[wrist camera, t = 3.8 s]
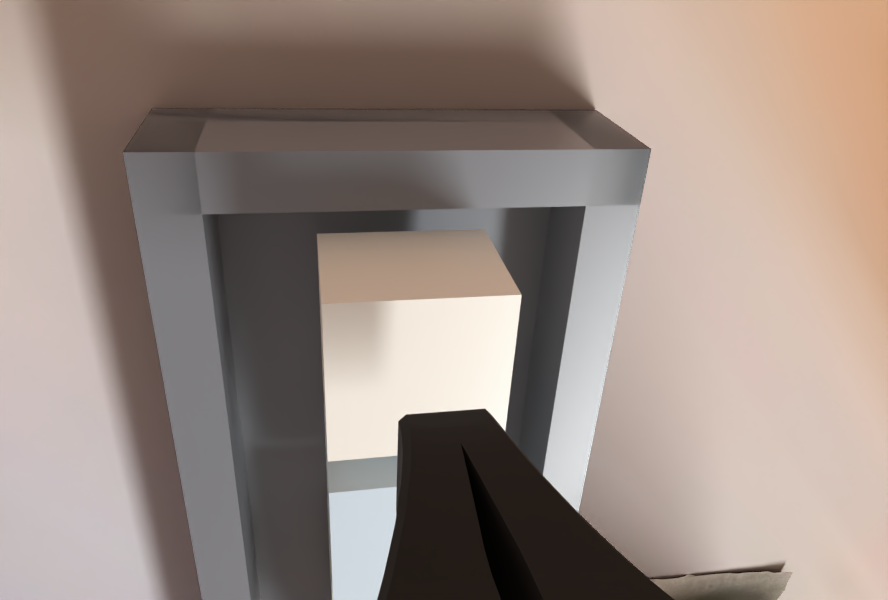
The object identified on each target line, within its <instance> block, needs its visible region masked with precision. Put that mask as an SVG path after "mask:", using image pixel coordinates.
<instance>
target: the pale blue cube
mask: <svg viewBox="0 0 888 600" xmlns="http://www.w3.org/2000/svg"><path fill="white" fill-rule="evenodd" d="M324 422H325V407H324ZM325 447H326V472H327V496H328V519H329V537H330V555H331V574H332V592H333V600H377V598H378V594H379V591H380V587H381V583H382V579H383V575H384V571H385V567H386V562H387V558H388V554H389V549H390V545H391V540H392V536H393V531H394V526H395V521H396V490H397V456H388V457H376V458H364V459H353V460H341V461H329V462H328V458H327V441H326V424H325Z"/></svg>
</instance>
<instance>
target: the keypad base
mask: <svg viewBox="0 0 888 600" xmlns="http://www.w3.org/2000/svg"><path fill="white" fill-rule="evenodd" d="M650 153H651V149H650V148H649V147H647V146H646V145H645V144H643V143H642V142H640V141H639V140H638V139H636V138H635V137H633V136H632V135H631V134H629V133H628V132H626V131H625V130H624V129H622V128H621V127H619V126H618V125H617V124H615V123H614V122H612V121H611V120H610V119H608V118H607V117H605V116H604V115H602V114H601V113H600V112H598V111H597V110H402V109H181V108H152V109H151V111H150V112H149V114H148V115H147V117H146V118H145V120H144V121H143V123H142V124H141V126H140V127H139V129H138V130H137V132H136V133H135V135H134V136H133V138H132V139H131V141H130V142H129V144H128V145H127V147H126V148H125V150H124V151H123V157H124V162H125V168H126V174H127V179H128V185H129V191H130V196H131V202H132V208H133V213H134V219H135V225H136V230H137V236H138V242H139V247H140V253H141V259H142V264H143V270H144V276H145V281H146V287H147V293H148V298H149V304H150V309H151V315H152V321H153V326H154V332H155V338H156V343H157V349H158V355H159V360H160V366H161V372H162V377H163V383H164V389H165V394H166V400H167V406H168V411H169V417H170V423H171V428H172V434H173V439H174V445H175V451H176V456H177V462H178V468H179V473H180V479H181V485H182V490H183V496H184V502H185V507H186V513H187V519H188V524H189V530H190V536H191V541H192V547H193V553H194V558H195V564H196V569H197V575H198V581H199V586H200V592H201V598H202V600H331V582H330V558H329V533H328V509H327V497H328V496H327V472H326V447H325V422H324V390H323V373H322V348H321V323H320V299H319V274H318V249H317V234H322V233H359V232H395V231H432V230H468V229H485V231H486V233H487V235H488V236H489V238H490V240H491V242H492V243H493V245H494V247H495V249H496V250H497V252H498V254H499V256H500V258H501V259H502V261H503V263H504V265H505V266H506V268H507V270H508V272H509V273H510V275H511V277H512V279H513V280H514V282H515V284H516V286H517V287H518V289H519V291H520V293H521V294H522V297H521V305H520V313H519V322H518V330H517V338H516V346H515V355H514V363H513V371H512V380H511V388H510V396H509V405H508V413H507V421H506V429H505V432H506V433H507V434H508V435H509V436H510V438H511V439H512V440H513V441H514V442H515V444H516V445H517V446H518V447H519V448H520V450H521V451H522V452H523V453H524V454H525V455H526V456H527V458H528V459H529V460H530V461H531V462H532V463H533V464H534V466H535V467H536V468H537V469H538V470H539V471H540V472H541V474H542V475H543V476H544V477H545V478H546V479H547V480H548V481H549V482H550V483H551V484H552V486H553V487H554V488H555V489H556V490H557V491H558V492H559V493H560V494H561V495H562V496H563V497H564V498H565V499H566V500H567V501H568V502H569V503H570V505H571V506H572V507H573V508H574V509H575V510H576V511H577V512H579V507H580V502H581V497H582V492H583V487H584V482H585V477H586V472H587V467H588V462H589V457H590V452H591V447H592V442H593V437H594V432H595V427H596V422H597V417H598V412H599V407H600V402H601V397H602V392H603V387H604V382H605V377H606V372H607V367H608V362H609V357H610V352H611V347H612V342H613V337H614V332H615V327H616V322H617V317H618V312H619V307H620V302H621V297H622V292H623V287H624V282H625V277H626V272H627V267H628V262H629V257H630V252H631V247H632V242H633V237H634V232H635V227H636V222H637V217H638V212H639V207H640V202H641V197H642V193H643V188H644V183H645V178H646V173H647V168H648V163H649V158H650Z"/></svg>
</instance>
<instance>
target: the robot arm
mask: <svg viewBox="0 0 888 600" xmlns="http://www.w3.org/2000/svg"><path fill="white" fill-rule="evenodd" d="M377 600H674V599H673V598H672V597H671V596H669V595H668V594H667V593H666V592H665V591H663V590H662V589H661V588H660V587H658V586H657V585H656V584H655V583H654V582H652V581H651V580H650V579H649V578H648V577H646V576H645V575H644V574H643V573H642V572H641V571H640V570H638V569H637V568H636V567H635V566H634V565H633V564H632V563H631V562H629V561H628V560H627V559H626V558H625V557H624V556H623V555H622V554H621V553H619V552H618V551H617V550H616V549H615V548H614V547H613V546H612V545H611V544H610V543H609V542H608V541H607V540H606V539H605V538H604V537H603V536H601V535H600V534H599V533H598V532H597V531H596V530H595V529H594V528H593V527H592V526H591V525H590V524H589V523H588V522H587V521H586V520H585V519H584V518H583V517H582V516H581V515H580V514H579V513H578V512H577V511H576V510H575V509H574V508H573V507H572V506H571V505H570V503H569V502H568V501H567V500H566V499H565V498H564V497H563V496H562V495H561V494H560V493H559V492H558V491H557V490H556V489H555V488H554V487H553V486H552V484H551V483H550V482H549V481H548V480H547V479H546V478H545V477H544V476H543V475H542V474H541V472H540V471H539V470H538V469H537V468H536V467H535V466H534V464H533V463H532V462H531V461H530V460H529V459H528V458H527V456H526V455H525V454H524V453H523V452H522V451H521V450H520V448H519V447H518V446H517V445H516V444H515V442H514V441H513V440H512V439H511V438H510V436H509V435H508V434H507V433H506V432H505V430H504V429H503V428H502V427H501V426H500V424H499V423H498V422H497V421H496V419H495V418H494V417H493V416H492V415H491V414H490V413H489V412H488V411H487V410H486V409H473V410H459V411H446V412H433V413H419V414H406V415H405V416H404V417H403V418H401V419H400V420H399V421H398V450H397V490H396V521H395V526H394V531H393V536H392V540H391V545H390V549H389V554H388V558H387V562H386V567H385V571H384V575H383V579H382V583H381V587H380V591H379V594H378V598H377Z"/></svg>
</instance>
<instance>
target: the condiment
mask: <svg viewBox="0 0 888 600" xmlns="http://www.w3.org/2000/svg"><path fill="white" fill-rule="evenodd" d="M791 574H792V572H778V573H772V572H768V571H764V572H745V573H739V574H735V573H722V574H711V575H702V576H694V575H692V574H691V575H688V574H687V575H686V576H684V577H680V578H673V579H650V580H651V581H652V582H654V583H655V584H656V585H657V586H658V587H660V588H661V589H662V590H663V591H665V592H666V593H667V594H668V595H669V596H671V597H672V598H673V599H674V600H777V599H778V597H779V596H780V595H781V594H782V592H783V591H784V590H785V587H786V584H787V582H788V580H789V578H790V576H791Z"/></svg>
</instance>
